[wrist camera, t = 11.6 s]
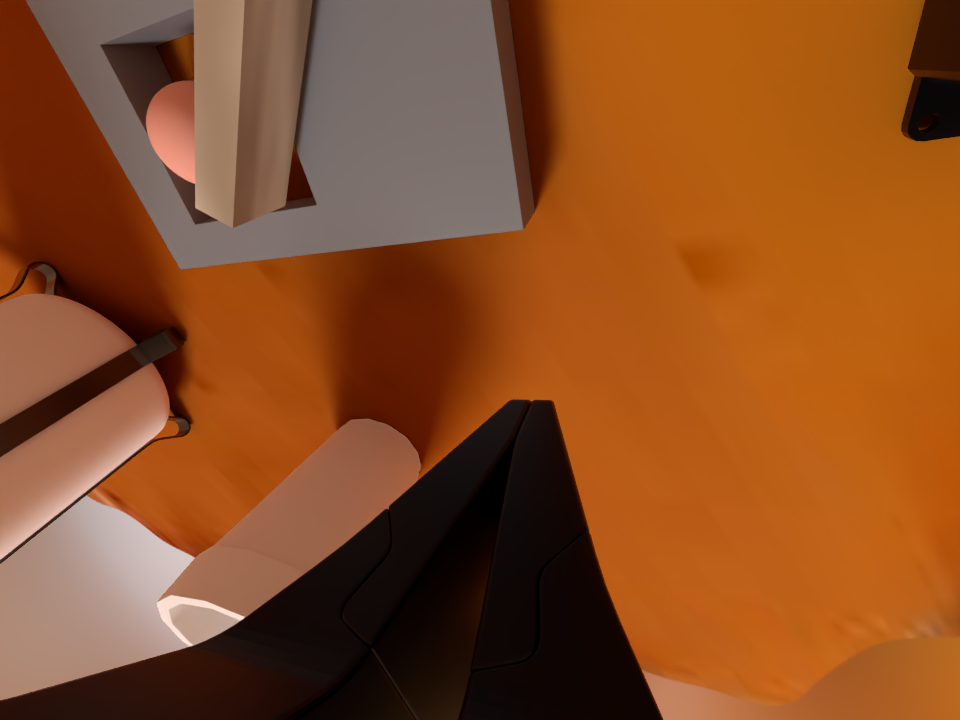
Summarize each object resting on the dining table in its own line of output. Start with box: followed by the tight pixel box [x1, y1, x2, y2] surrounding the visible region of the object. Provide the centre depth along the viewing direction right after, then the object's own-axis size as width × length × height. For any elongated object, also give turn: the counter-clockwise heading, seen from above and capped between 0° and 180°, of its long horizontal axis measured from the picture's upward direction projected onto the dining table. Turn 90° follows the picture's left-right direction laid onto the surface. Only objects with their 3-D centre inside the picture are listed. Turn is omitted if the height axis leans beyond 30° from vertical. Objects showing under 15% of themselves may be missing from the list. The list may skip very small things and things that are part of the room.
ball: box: [146, 80, 195, 184], centre depth 18 cm, size 4×4×4 cm
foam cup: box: [157, 419, 421, 646], centre depth 25 cm, size 10×9×13 cm
